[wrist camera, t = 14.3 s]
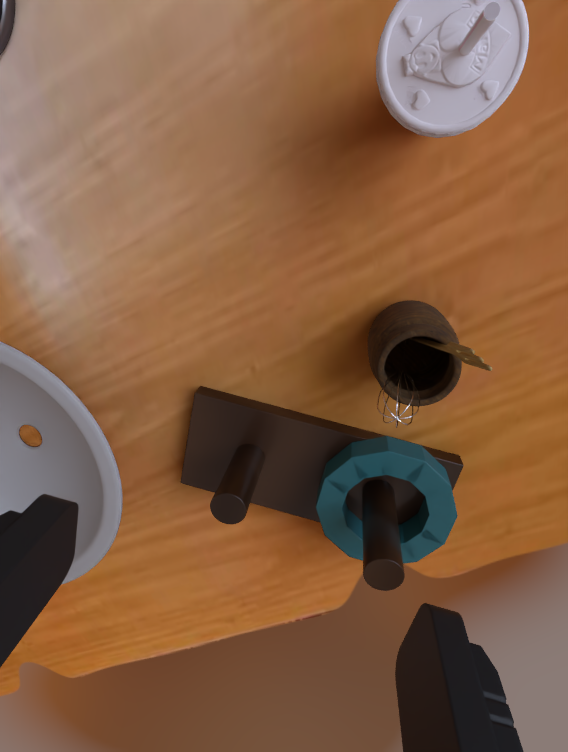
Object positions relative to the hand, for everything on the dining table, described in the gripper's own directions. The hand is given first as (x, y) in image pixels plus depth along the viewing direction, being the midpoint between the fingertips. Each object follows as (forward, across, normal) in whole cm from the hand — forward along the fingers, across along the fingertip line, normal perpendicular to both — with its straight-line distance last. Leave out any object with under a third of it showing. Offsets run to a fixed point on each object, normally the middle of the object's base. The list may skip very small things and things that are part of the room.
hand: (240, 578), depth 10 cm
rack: (+26, -4, +13) cm, 30 cm away
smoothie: (+26, -3, -15) cm, 31 cm away
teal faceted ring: (+25, -10, +13) cm, 29 cm away
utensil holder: (+26, -7, 0) cm, 27 cm away
